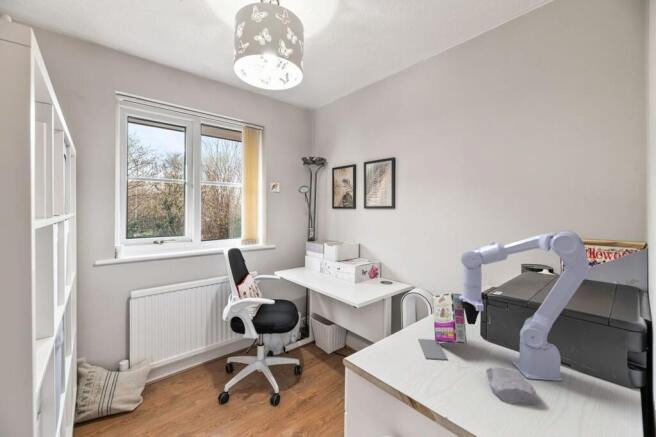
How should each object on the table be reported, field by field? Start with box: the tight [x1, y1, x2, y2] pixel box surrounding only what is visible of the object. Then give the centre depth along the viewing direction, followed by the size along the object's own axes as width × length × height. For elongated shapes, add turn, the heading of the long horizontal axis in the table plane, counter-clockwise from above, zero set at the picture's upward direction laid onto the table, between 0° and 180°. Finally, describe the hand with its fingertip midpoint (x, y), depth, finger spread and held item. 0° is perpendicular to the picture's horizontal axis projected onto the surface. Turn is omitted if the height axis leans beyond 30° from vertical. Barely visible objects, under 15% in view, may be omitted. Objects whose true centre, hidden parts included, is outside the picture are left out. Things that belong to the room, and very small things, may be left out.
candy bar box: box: [432, 292, 468, 345], centre depth 101 cm, size 11×5×16 cm, turn 18°
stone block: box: [485, 366, 537, 406], centre depth 77 cm, size 12×5×10 cm
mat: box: [417, 338, 449, 361], centre depth 98 cm, size 7×13×1 cm, turn 172°
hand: (471, 323), depth 96 cm, fingers closed
